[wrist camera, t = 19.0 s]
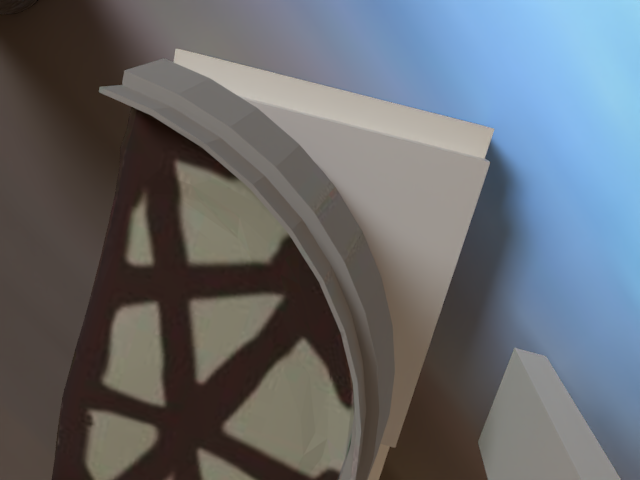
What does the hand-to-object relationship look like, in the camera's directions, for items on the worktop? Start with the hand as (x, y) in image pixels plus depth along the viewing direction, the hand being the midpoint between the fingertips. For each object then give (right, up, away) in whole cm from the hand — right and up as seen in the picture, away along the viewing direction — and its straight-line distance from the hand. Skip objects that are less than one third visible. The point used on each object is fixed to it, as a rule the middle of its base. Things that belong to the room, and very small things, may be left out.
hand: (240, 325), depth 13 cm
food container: (+1, +1, +6) cm, 6 cm away
